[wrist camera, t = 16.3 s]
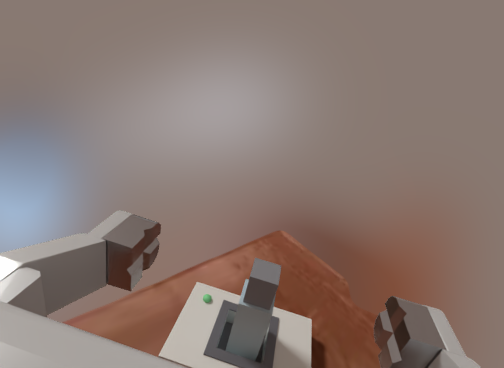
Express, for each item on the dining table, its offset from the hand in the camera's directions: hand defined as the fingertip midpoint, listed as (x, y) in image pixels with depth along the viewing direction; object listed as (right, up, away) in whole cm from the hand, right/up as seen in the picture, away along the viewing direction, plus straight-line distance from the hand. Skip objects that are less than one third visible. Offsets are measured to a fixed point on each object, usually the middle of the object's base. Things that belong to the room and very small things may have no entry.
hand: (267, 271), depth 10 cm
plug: (-2, -19, +28) cm, 34 cm away
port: (-2, -19, +29) cm, 35 cm away
